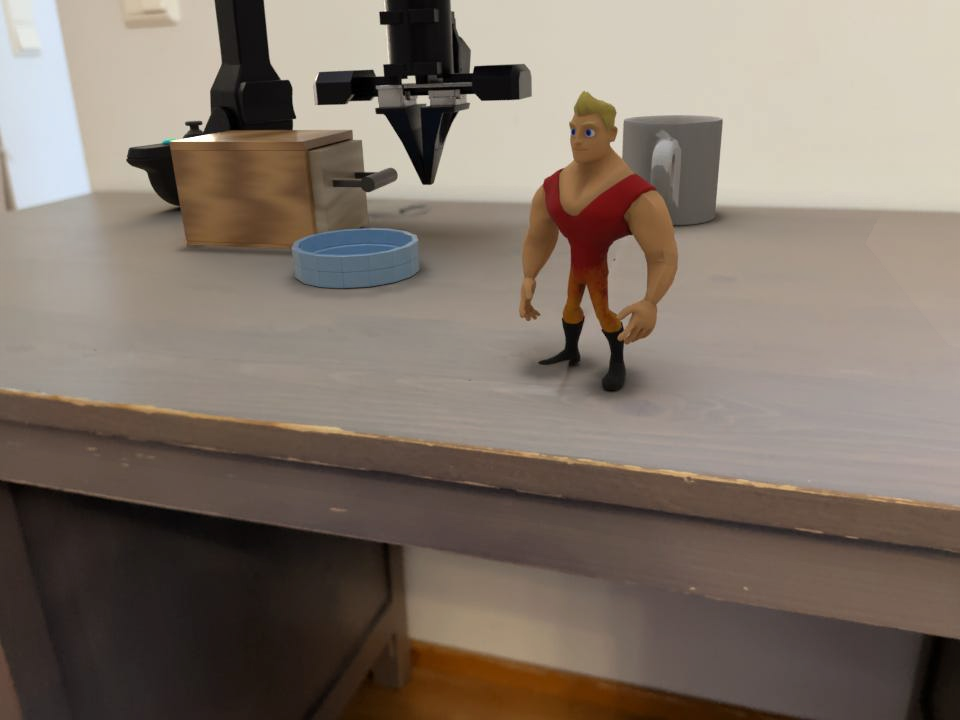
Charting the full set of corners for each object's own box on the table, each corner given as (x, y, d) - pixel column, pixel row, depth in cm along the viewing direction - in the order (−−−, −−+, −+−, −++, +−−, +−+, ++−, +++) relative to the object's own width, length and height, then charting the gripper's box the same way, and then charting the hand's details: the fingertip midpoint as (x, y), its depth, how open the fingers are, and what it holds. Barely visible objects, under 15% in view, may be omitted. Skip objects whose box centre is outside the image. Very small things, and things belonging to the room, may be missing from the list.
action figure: (499, 364, 45) (494, 91, 40) (536, 347, 48) (536, 88, 42) (644, 406, 39) (661, 93, 34) (677, 384, 42) (699, 89, 36)
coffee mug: (638, 204, 90) (642, 114, 86) (725, 211, 85) (733, 115, 82) (593, 227, 79) (595, 125, 76) (689, 235, 75) (697, 127, 71)
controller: (234, 200, 101) (222, 119, 97) (156, 217, 91) (139, 129, 87) (210, 198, 103) (198, 119, 99) (131, 215, 93) (114, 128, 89)
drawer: (407, 224, 79) (401, 139, 76) (371, 245, 71) (364, 151, 68) (260, 219, 83) (249, 139, 80) (210, 239, 75) (196, 150, 72)
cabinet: (361, 230, 81) (352, 129, 78) (315, 254, 72) (303, 141, 68) (245, 226, 85) (231, 130, 81) (187, 249, 75) (169, 141, 72)
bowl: (329, 259, 70) (326, 226, 69) (435, 264, 67) (433, 229, 66) (273, 291, 61) (269, 253, 60) (394, 297, 58) (391, 258, 57)
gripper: (542, -2, 71) (544, 172, 77) (354, 9, 76) (368, 172, 82) (515, -11, 61) (519, 190, 67) (301, 3, 66) (321, 189, 72)
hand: (428, 184), depth 72 cm, fingers closed
